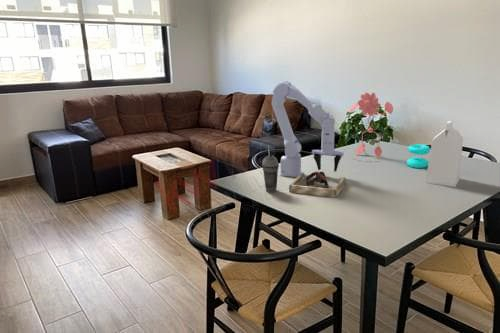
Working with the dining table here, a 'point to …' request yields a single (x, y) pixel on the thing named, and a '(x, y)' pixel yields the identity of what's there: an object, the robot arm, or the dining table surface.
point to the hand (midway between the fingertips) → (327, 170)
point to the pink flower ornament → (370, 106)
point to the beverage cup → (270, 172)
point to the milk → (445, 157)
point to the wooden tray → (315, 188)
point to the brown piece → (316, 179)
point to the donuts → (418, 161)
